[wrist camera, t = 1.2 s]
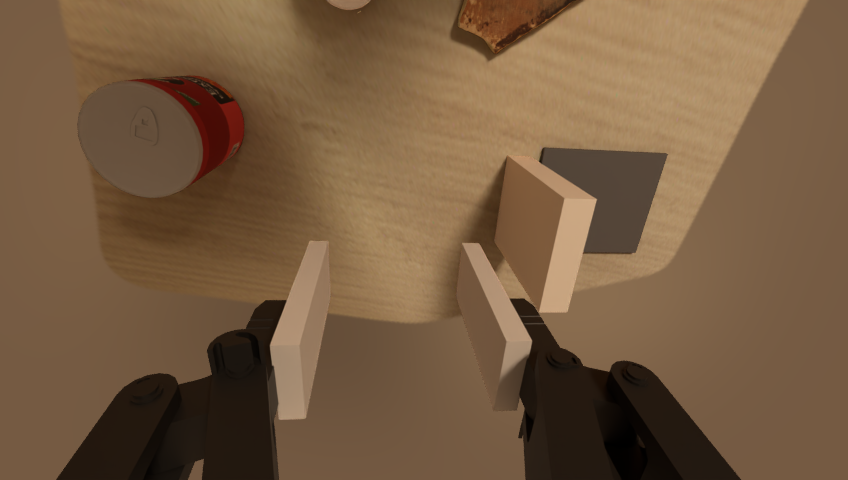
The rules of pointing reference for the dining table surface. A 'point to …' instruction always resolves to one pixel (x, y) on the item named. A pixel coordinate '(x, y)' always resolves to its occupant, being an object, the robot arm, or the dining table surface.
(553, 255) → the glazed tile
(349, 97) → the dining table surface
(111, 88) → the canned food
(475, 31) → the shard
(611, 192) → the rubber mat
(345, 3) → the dumpling
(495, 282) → the robot arm
